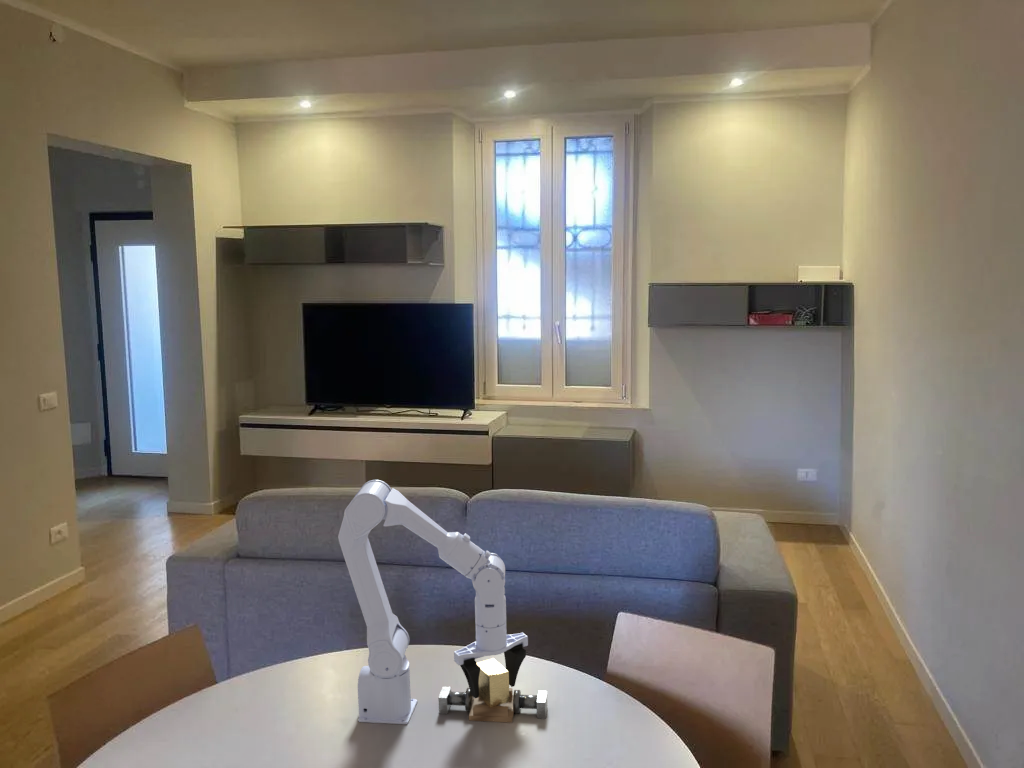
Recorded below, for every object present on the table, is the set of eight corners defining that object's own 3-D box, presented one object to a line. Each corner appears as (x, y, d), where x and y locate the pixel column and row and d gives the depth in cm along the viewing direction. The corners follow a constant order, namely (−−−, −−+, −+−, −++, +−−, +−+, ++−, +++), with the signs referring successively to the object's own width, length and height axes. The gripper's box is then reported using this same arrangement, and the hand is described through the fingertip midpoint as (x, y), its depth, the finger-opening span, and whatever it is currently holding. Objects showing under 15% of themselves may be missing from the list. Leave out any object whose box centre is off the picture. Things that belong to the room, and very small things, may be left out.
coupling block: (509, 701, 149) (508, 671, 148) (490, 707, 147) (489, 677, 146) (494, 687, 154) (493, 657, 153) (475, 692, 152) (474, 663, 151)
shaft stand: (437, 719, 148) (436, 698, 148) (445, 697, 156) (444, 677, 155) (544, 724, 146) (544, 703, 145) (548, 701, 153) (547, 682, 153)
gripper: (514, 604, 155) (516, 670, 157) (446, 622, 148) (448, 690, 150) (533, 618, 149) (534, 686, 151) (462, 637, 142) (465, 708, 144)
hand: (492, 689), depth 150 cm, fingers open, 7 cm apart
